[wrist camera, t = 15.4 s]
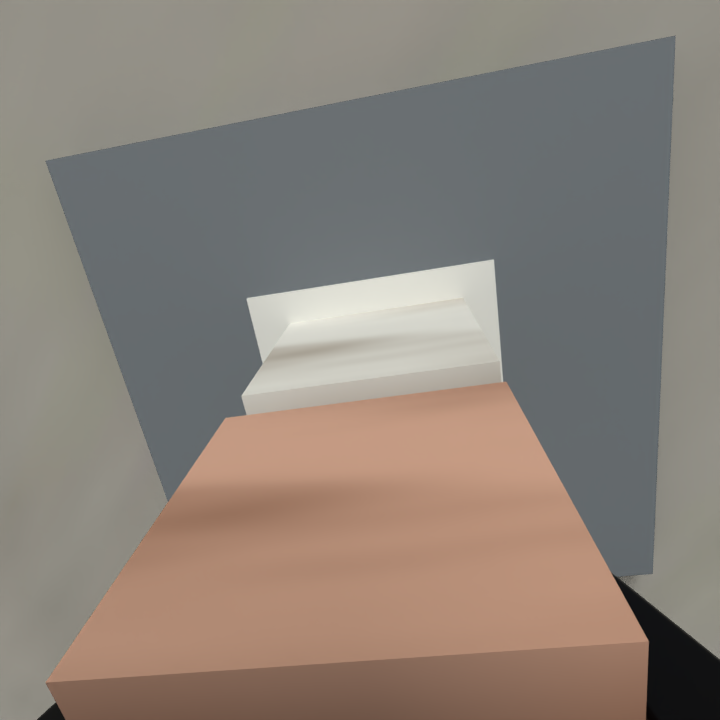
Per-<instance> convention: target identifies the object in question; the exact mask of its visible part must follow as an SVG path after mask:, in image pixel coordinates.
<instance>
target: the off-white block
mask: <svg viewBox="0 0 720 720" xmlns="http://www.w3.org/2000/svg"><path fill="white" fill-rule="evenodd" d="M499 382H501V371H500V361H499V359H498V357H497V356H496V354H495V352H494V350H493V349H492V347H491V345H490V343H489V342H488V340H487V338H486V337H485V335H484V333H483V331H482V330H481V328H480V326H479V324H478V323H477V321H476V319H475V317H474V316H473V314H472V312H471V311H470V309H469V307H468V305H467V304H466V302H465V300H464V298H457V299H451V300H444V301H437V302H431V303H424V304H417V305H411V306H404V307H397V308H391V309H384V310H377V311H371V312H364V313H357V314H351V315H344V316H337V317H331V318H324V319H317V320H311V321H304V322H297V323H291V324H289V325H288V327H287V328H286V330H285V331H284V333H283V334H282V336H281V337H280V339H279V340H278V342H277V343H276V345H275V346H274V348H273V349H272V351H271V352H270V354H269V355H268V357H267V358H266V360H265V361H264V363H263V364H262V366H261V367H260V369H259V370H258V372H257V373H256V375H255V376H254V378H253V379H252V381H251V382H250V384H249V385H248V387H247V388H246V390H245V391H244V393H243V394H242V396H241V397H242V400H243V404H244V408H245V411H246V415H252V414H259V413H267V412H275V411H283V410H290V409H298V408H306V407H313V406H321V405H329V404H337V403H344V402H352V401H360V400H368V399H375V398H383V397H391V396H398V395H406V394H414V393H422V392H429V391H437V390H445V389H453V388H460V387H468V386H476V385H483V384H491V383H499Z"/></svg>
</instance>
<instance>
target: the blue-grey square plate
mask: <svg viewBox="0 0 720 720" xmlns="http://www.w3.org/2000/svg"><path fill="white" fill-rule="evenodd" d="M674 58H675V36H671V37H666V38H661V39H656V40H651V41H646V42H641V43H636V44H631V45H626V46H621V47H616V48H611V49H606V50H601V51H596V52H591V53H586V54H581V55H576V56H571V57H566V58H561V59H556V60H550V61H545V62H540V63H535V64H530V65H525V66H520V67H515V68H510V69H505V70H500V71H495V72H490V73H485V74H480V75H475V76H470V77H465V78H460V79H455V80H450V81H445V82H440V83H435V84H430V85H425V86H420V87H415V88H410V89H405V90H400V91H394V92H389V93H384V94H379V95H374V96H369V97H364V98H359V99H354V100H349V101H344V102H339V103H334V104H329V105H324V106H319V107H314V108H309V109H304V110H299V111H294V112H289V113H284V114H279V115H274V116H269V117H264V118H259V119H254V120H249V121H244V122H238V123H233V124H228V125H223V126H218V127H213V128H208V129H203V130H198V131H193V132H188V133H183V134H178V135H173V136H168V137H163V138H158V139H153V140H148V141H143V142H138V143H133V144H128V145H123V146H118V147H113V148H108V149H103V150H98V151H93V152H88V153H83V154H77V155H72V156H67V157H62V158H57V159H52V160H47V161H46V164H47V166H48V169H49V172H50V175H51V178H52V180H53V183H54V186H55V189H56V191H57V194H58V197H59V200H60V203H61V205H62V208H63V211H64V214H65V216H66V219H67V222H68V225H69V228H70V230H71V233H72V236H73V239H74V242H75V244H76V247H77V250H78V253H79V255H80V258H81V261H82V264H83V267H84V269H85V272H86V275H87V278H88V280H89V283H90V286H91V289H92V292H93V294H94V297H95V300H96V303H97V305H98V308H99V311H100V314H101V317H102V319H103V322H104V325H105V328H106V330H107V333H108V336H109V339H110V342H111V344H112V347H113V350H114V353H115V356H116V358H117V361H118V364H119V367H120V369H121V372H122V375H123V378H124V381H125V383H126V386H127V389H128V392H129V394H130V397H131V400H132V403H133V406H134V408H135V411H136V414H137V417H138V419H139V422H140V425H141V428H142V431H143V433H144V436H145V439H146V442H147V444H148V447H149V450H150V453H151V456H152V458H153V461H154V464H155V467H156V470H157V472H158V475H159V478H160V481H161V483H162V486H163V489H164V492H165V495H166V497H167V500H168V502H169V500H170V499H171V497H172V496H173V494H174V493H175V491H176V490H177V488H178V487H179V485H180V484H181V482H182V481H183V480H184V478H185V477H186V475H187V474H188V472H189V471H190V469H191V468H192V466H193V465H194V463H195V462H196V460H197V459H198V457H199V456H200V455H201V453H202V452H203V450H204V449H205V447H206V446H207V444H208V443H209V441H210V440H211V438H212V437H213V435H214V434H215V432H216V431H217V430H218V428H219V427H220V425H221V424H222V422H223V421H224V419H225V418H228V417H236V416H244V415H246V411H245V408H244V404H243V400H242V397H241V396H242V394H243V393H244V391H245V390H246V388H247V387H248V385H249V384H250V382H251V381H252V379H253V378H254V376H255V375H256V373H257V372H258V370H259V369H260V367H261V366H262V364H263V363H264V361H265V360H266V358H267V357H268V355H269V354H270V352H271V351H272V349H273V348H274V346H275V345H276V343H277V342H278V340H279V339H280V337H281V336H282V334H283V333H284V331H285V330H286V328H287V327H288V325H289V324H291V323H297V322H304V321H311V320H317V319H324V318H331V317H337V316H344V315H351V314H357V313H364V312H371V311H377V310H384V309H391V308H397V307H404V306H411V305H417V304H424V303H431V302H437V301H444V300H451V299H457V298H464V300H465V302H466V304H467V305H468V307H469V309H470V311H471V312H472V314H473V316H474V317H475V319H476V321H477V323H478V324H479V326H480V328H481V330H482V331H483V333H484V335H485V337H486V338H487V340H488V342H489V343H490V345H491V347H492V349H493V350H494V352H495V354H496V356H497V357H498V359H499V361H500V371H501V382H507V384H508V386H509V387H510V389H511V391H512V393H513V395H514V397H515V398H516V400H517V402H518V404H519V406H520V407H521V409H522V411H523V413H524V415H525V417H526V418H527V420H528V422H529V424H530V426H531V428H532V429H533V431H534V433H535V435H536V437H537V438H538V440H539V442H540V444H541V446H542V448H543V449H544V451H545V453H546V455H547V457H548V459H549V460H550V462H551V464H552V466H553V468H554V469H555V471H556V473H557V475H558V477H559V479H560V480H561V482H562V484H563V486H564V488H565V489H566V491H567V493H568V495H569V497H570V499H571V500H572V502H573V504H574V506H575V508H576V510H577V511H578V513H579V515H580V517H581V519H582V520H583V522H584V524H585V526H586V528H587V530H588V531H589V533H590V535H591V537H592V539H593V541H594V542H595V544H596V546H597V548H598V550H599V551H600V553H601V555H602V557H603V559H604V561H605V562H606V564H607V566H608V568H609V570H610V572H612V573H613V574H614V575H615V576H617V577H619V576H631V575H643V574H653V553H654V529H655V506H656V482H657V459H658V435H659V412H660V388H661V365H662V341H663V317H664V294H665V270H666V247H667V223H668V200H669V176H670V153H671V129H672V105H673V82H674Z"/></svg>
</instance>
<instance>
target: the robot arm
mask: <svg viewBox="0 0 720 720" xmlns="http://www.w3.org/2000/svg"><path fill="white" fill-rule="evenodd" d="M611 573H612V572H611ZM612 575H613V577H614V579H615V581H616V582H617V584H618V586H619V588H620V590H621V592H622V593H623V595H624V597H625V599H626V601H627V602H628V604H629V606H630V608H631V610H632V612H633V613H634V615H635V617H636V619H637V621H638V623H639V624H640V626H641V628H642V630H643V632H644V633H645V635H646V637H647V639H648V641H649V651H648V677H647V702H646V720H720V659H718V658H717V657H716V656H715V655H713V654H712V653H711V652H710V651H709V650H707V649H706V648H705V647H704V646H702V645H701V644H700V643H699V642H697V641H696V640H695V639H694V638H692V637H691V636H690V635H689V634H687V633H686V632H685V631H684V630H682V629H681V628H680V627H679V626H677V625H676V624H675V623H674V622H672V621H671V620H670V619H669V618H668V617H666V616H665V615H664V614H663V613H661V612H660V611H659V610H658V609H656V608H655V607H654V606H653V605H651V604H650V603H649V602H648V601H646V600H645V599H644V598H643V597H641V596H640V595H639V594H638V593H636V592H635V591H634V590H633V589H631V588H630V587H629V586H628V585H626V584H625V583H624V582H623V581H622V580H620V579H619V578H618V577H617V576H615V575H614V574H613V573H612ZM37 720H65V718H64V716H63V714H62V712H61V710H60V708H59V707H58V705H57V703H55V704H53V705H52V706H51V707H50V708H49V709H48V710H47V711H46V712H45V713H44V714H42V715H41V716H40V717H39V718H38V719H37Z"/></svg>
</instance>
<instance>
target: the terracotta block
mask: <svg viewBox="0 0 720 720" xmlns="http://www.w3.org/2000/svg"><path fill="white" fill-rule="evenodd" d="M648 651H649V641H648V639H647V637H646V635H645V633H644V632H643V630H642V628H641V626H640V624H639V623H638V621H637V619H636V617H635V615H634V613H633V612H632V610H631V608H630V606H629V604H628V602H627V601H626V599H625V597H624V595H623V593H622V592H621V590H620V588H619V586H618V584H617V582H616V581H615V579H614V577H613V575H612V573H611V572H610V570H609V568H608V566H607V564H606V562H605V561H604V559H603V557H602V555H601V553H600V551H599V550H598V548H597V546H596V544H595V542H594V541H593V539H592V537H591V535H590V533H589V531H588V530H587V528H586V526H585V524H584V522H583V520H582V519H581V517H580V515H579V513H578V511H577V510H576V508H575V506H574V504H573V502H572V500H571V499H570V497H569V495H568V493H567V491H566V489H565V488H564V486H563V484H562V482H561V480H560V479H559V477H558V475H557V473H556V471H555V469H554V468H553V466H552V464H551V462H550V460H549V459H548V457H547V455H546V453H545V451H544V449H543V448H542V446H541V444H540V442H539V440H538V438H537V437H536V435H535V433H534V431H533V429H532V428H531V426H530V424H529V422H528V420H527V418H526V417H525V415H524V413H523V411H522V409H521V407H520V406H519V404H518V402H517V400H516V398H515V397H514V395H513V393H512V391H511V389H510V387H509V386H508V384H507V382H499V383H491V384H483V385H476V386H468V387H460V388H453V389H445V390H437V391H429V392H422V393H414V394H406V395H398V396H391V397H383V398H375V399H368V400H360V401H352V402H344V403H337V404H329V405H321V406H313V407H306V408H298V409H290V410H283V411H275V412H267V413H259V414H252V415H244V416H236V417H228V418H225V419H224V421H223V422H222V424H221V425H220V427H219V428H218V430H217V431H216V432H215V434H214V435H213V437H212V438H211V440H210V441H209V443H208V444H207V446H206V447H205V449H204V450H203V452H202V453H201V455H200V456H199V457H198V459H197V460H196V462H195V463H194V465H193V466H192V468H191V469H190V471H189V472H188V474H187V475H186V477H185V478H184V480H183V481H182V482H181V484H180V485H179V487H178V488H177V490H176V491H175V493H174V494H173V496H172V497H171V499H170V500H169V502H168V503H167V505H166V506H165V508H164V509H163V510H162V512H161V513H160V515H159V516H158V518H157V519H156V521H155V522H154V524H153V525H152V527H151V528H150V530H149V531H148V533H147V534H146V535H145V537H144V538H143V540H142V541H141V543H140V544H139V546H138V547H137V549H136V550H135V552H134V553H133V555H132V556H131V558H130V559H129V560H128V562H127V563H126V565H125V566H124V568H123V569H122V571H121V572H120V574H119V575H118V577H117V578H116V580H115V581H114V583H113V584H112V586H111V587H110V588H109V590H108V591H107V593H106V594H105V596H104V597H103V599H102V600H101V602H100V603H99V605H98V606H97V608H96V609H95V611H94V612H93V613H92V615H91V616H90V618H89V619H88V621H87V622H86V624H85V625H84V627H83V628H82V630H81V631H80V633H79V634H78V636H77V637H76V639H75V640H74V641H73V643H72V644H71V646H70V647H69V649H68V650H67V652H66V653H65V655H64V656H63V658H62V659H61V661H60V662H59V664H58V665H57V666H56V668H55V669H54V671H53V672H52V674H51V675H50V677H49V678H48V680H47V681H46V684H47V686H48V688H49V690H50V692H51V694H52V696H53V697H54V699H55V701H56V703H57V705H58V707H59V708H60V710H61V712H62V714H63V716H64V718H65V720H646V702H647V677H648Z"/></svg>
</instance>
